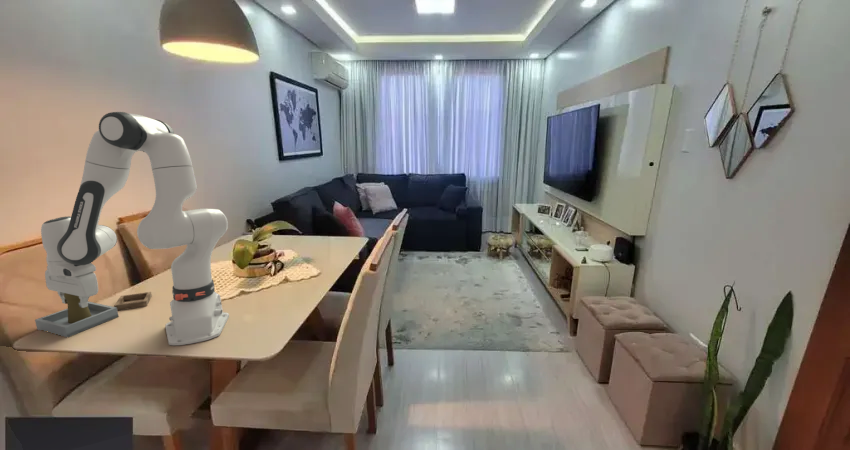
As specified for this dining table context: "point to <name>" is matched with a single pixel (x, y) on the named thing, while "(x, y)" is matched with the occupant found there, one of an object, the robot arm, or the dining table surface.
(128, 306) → the holder collar
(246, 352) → the dining table surface
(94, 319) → the tray
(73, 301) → the olive tapered knobbed cylinder
